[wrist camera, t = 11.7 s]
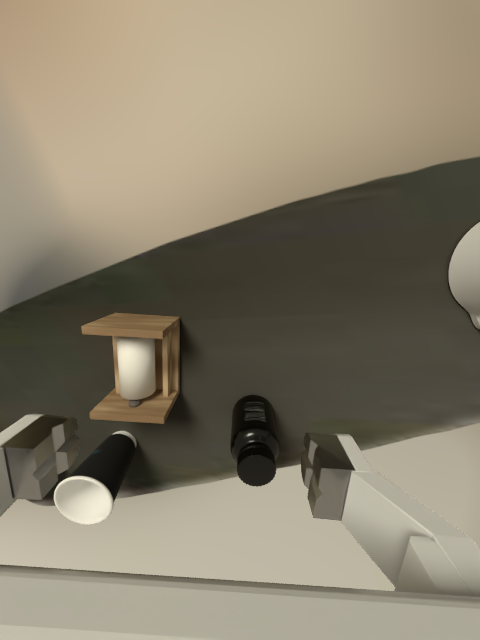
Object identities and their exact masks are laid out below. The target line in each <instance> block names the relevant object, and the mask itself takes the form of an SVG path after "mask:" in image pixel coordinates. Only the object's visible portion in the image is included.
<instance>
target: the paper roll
mask: <svg viewBox="0 0 480 640" xmlns="http://www.w3.org/2000/svg"><path fill="white" fill-rule="evenodd" d="M117 353H118V370H119V387H120V396H121V397H122V398H125V399H129V400H138V399H143V398H146V397H148V396H150V395H152V394H153V393H154V392H155V390H156V373H155V338H139V337H123V336H117Z"/></svg>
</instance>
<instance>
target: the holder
mask: <svg viewBox="0 0 480 640" xmlns="http://www.w3.org/2000/svg"><path fill="white" fill-rule="evenodd" d="M81 327H82V334H91V335H107V336H113V351H114V367H115V382H116V388H114V389H113V390H112V391H111V392H110V393H109V394H108V395H107V396H106V397H105V398H104V399H103V400H102V401H101V402H100V403H99V404H98V405H97V406H96V407H95V408H94V409H93V410H92V411H91V412H90V419H97V420H113V421H129V422H145V423H160V424H164V423H165V421H166V419H167V417H168V415H169V413H170V411H171V409H172V407H173V405H174V403H175V401H176V399H177V397H178V395H179V374H180V317H171V316H155V315H139V314H123V313H114V314H112V315H109V316H106V317H104V318H101V319H99V320H96V321H93V322H91V323H88V324H86V325H83V326H81ZM117 336H123V337H139V338H155V373H156V390H155V392H154V393H153V394H152V395H150V396H148V397H146V398H143V399H138V400H129V399H125V398H122V397H121V396H120V387H119V370H118V353H117Z"/></svg>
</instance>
